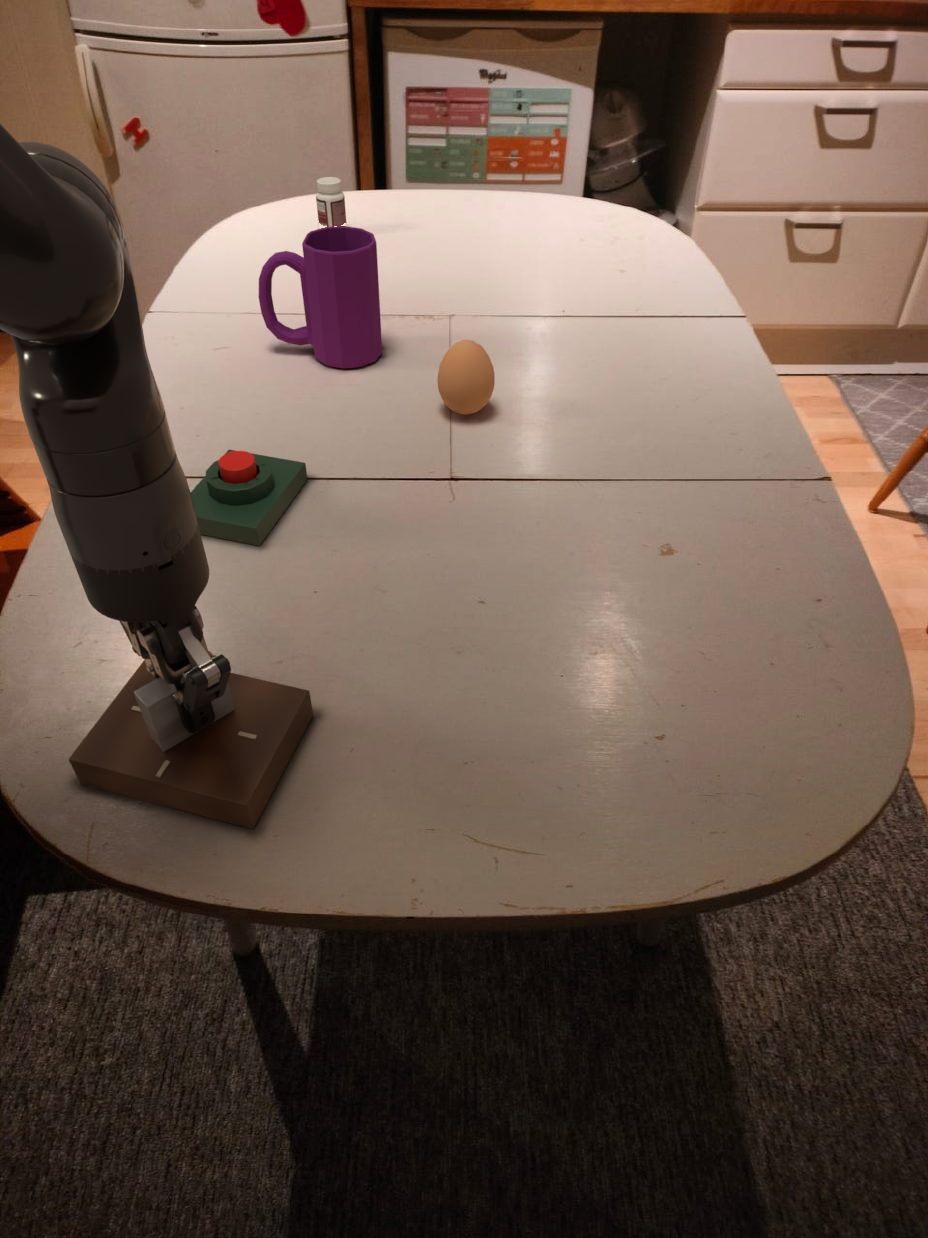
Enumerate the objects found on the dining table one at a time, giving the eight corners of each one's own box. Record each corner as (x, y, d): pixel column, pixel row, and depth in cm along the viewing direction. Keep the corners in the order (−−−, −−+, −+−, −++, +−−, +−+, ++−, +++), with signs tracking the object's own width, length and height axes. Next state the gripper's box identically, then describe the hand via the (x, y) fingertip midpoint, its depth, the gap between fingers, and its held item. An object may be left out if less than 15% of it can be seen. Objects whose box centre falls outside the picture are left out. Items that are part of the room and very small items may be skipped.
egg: (494, 426, 100) (497, 355, 94) (437, 425, 100) (437, 354, 94) (492, 397, 105) (495, 328, 99) (437, 397, 105) (437, 328, 99)
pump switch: (259, 546, 83) (253, 513, 81) (177, 530, 85) (168, 497, 82) (307, 479, 92) (303, 447, 89) (232, 466, 93) (225, 434, 91)
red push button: (247, 487, 84) (244, 472, 83) (214, 481, 85) (211, 466, 84) (263, 468, 87) (260, 453, 86) (231, 462, 87) (228, 447, 86)
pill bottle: (348, 228, 147) (344, 175, 141) (346, 238, 144) (342, 184, 138) (320, 227, 147) (316, 175, 141) (317, 237, 144) (312, 184, 138)
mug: (378, 372, 110) (371, 254, 99) (259, 367, 110) (240, 249, 100) (386, 340, 116) (380, 226, 106) (274, 335, 117) (258, 221, 106)
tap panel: (80, 784, 63) (67, 758, 61) (157, 678, 70) (148, 652, 68) (253, 829, 60) (246, 804, 58) (313, 715, 68) (309, 688, 66)
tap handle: (163, 752, 61) (146, 705, 58) (150, 736, 62) (132, 689, 59) (235, 709, 64) (223, 662, 61) (221, 695, 65) (208, 647, 62)
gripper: (22, 501, 52) (100, 689, 64) (128, 612, 45) (194, 801, 57) (134, 457, 56) (188, 642, 68) (249, 553, 49) (287, 742, 61)
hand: (191, 714), depth 62 cm, fingers closed on tap handle, 2 cm apart
